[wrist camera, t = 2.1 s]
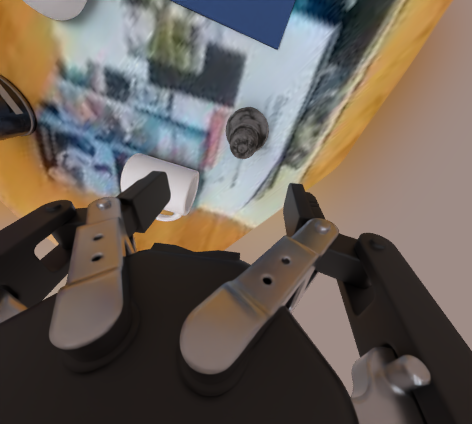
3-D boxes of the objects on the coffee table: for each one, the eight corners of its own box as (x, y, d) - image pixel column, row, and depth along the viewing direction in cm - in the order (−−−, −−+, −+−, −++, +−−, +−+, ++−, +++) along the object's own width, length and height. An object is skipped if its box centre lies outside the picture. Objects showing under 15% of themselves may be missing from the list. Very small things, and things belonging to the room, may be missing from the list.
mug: (146, 146, 31) (116, 163, 25) (202, 164, 32) (187, 184, 25) (147, 201, 38) (124, 225, 32) (193, 214, 39) (180, 241, 33)
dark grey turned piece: (227, 106, 26) (208, 120, 17) (268, 103, 25) (273, 116, 16) (230, 147, 30) (216, 178, 20) (267, 146, 29) (270, 178, 19)
